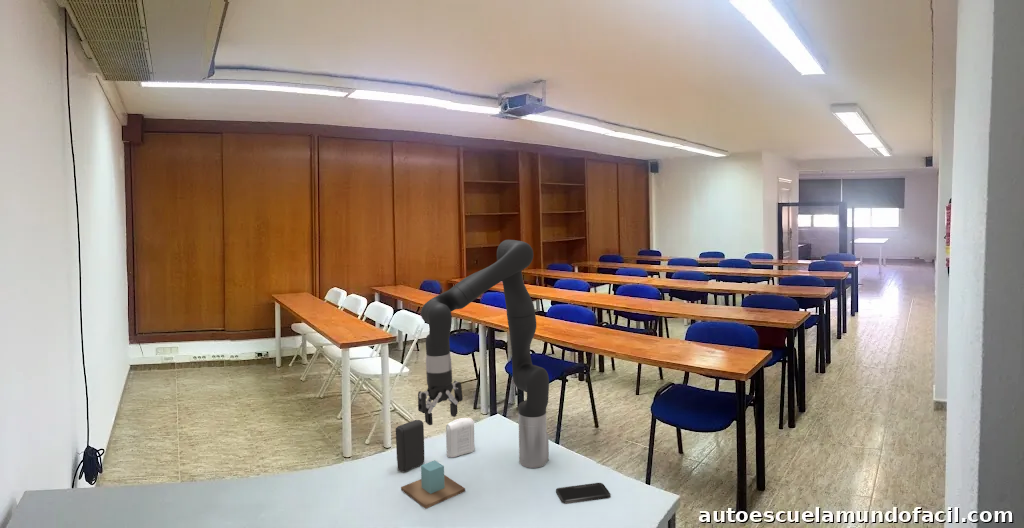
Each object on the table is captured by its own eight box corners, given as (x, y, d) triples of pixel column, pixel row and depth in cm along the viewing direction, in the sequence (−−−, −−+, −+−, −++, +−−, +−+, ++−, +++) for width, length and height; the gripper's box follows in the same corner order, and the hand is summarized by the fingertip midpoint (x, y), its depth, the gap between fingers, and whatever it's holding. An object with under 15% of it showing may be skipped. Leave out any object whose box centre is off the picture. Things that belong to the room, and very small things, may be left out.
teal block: (435, 481, 168) (434, 460, 167) (444, 488, 164) (443, 465, 163) (421, 487, 165) (420, 465, 164) (430, 493, 161) (429, 471, 160)
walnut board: (439, 474, 174) (439, 471, 174) (465, 491, 164) (465, 488, 164) (401, 490, 165) (401, 487, 165) (425, 508, 155) (425, 505, 154)
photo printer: (470, 447, 194) (469, 413, 193) (476, 451, 190) (475, 417, 189) (444, 454, 188) (443, 420, 187) (450, 459, 185) (449, 424, 183)
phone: (611, 495, 159) (562, 501, 156) (611, 499, 159) (562, 505, 156) (601, 482, 166) (554, 488, 163) (601, 485, 166) (554, 491, 163)
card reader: (419, 460, 185) (417, 417, 183) (426, 463, 182) (424, 420, 180) (396, 469, 178) (394, 426, 176) (403, 473, 175) (401, 429, 174)
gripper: (451, 360, 168) (454, 410, 170) (411, 370, 159) (414, 423, 161) (465, 365, 163) (468, 417, 164) (424, 376, 153) (428, 431, 155)
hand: (441, 420), depth 163 cm, fingers open, 8 cm apart
